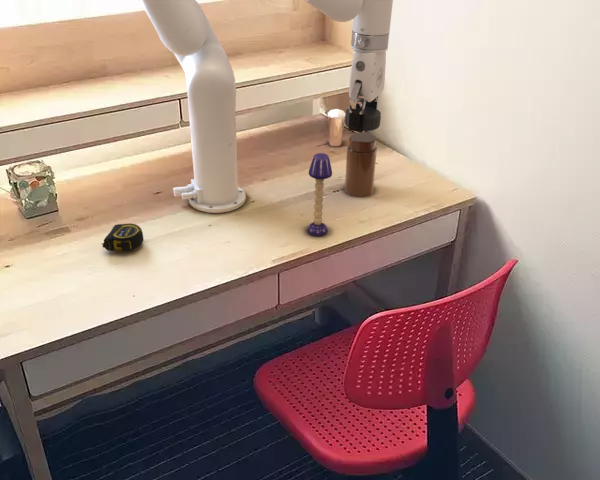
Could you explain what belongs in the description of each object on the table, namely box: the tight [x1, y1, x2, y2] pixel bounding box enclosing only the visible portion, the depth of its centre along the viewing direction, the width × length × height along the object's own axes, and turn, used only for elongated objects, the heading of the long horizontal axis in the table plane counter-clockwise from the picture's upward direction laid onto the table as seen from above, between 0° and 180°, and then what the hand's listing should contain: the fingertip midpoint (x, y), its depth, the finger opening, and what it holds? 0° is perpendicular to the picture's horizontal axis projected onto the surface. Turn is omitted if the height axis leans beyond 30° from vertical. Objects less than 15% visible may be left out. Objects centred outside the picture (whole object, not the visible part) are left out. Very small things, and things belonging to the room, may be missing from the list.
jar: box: [344, 131, 378, 198], centre depth 153 cm, size 7×7×13 cm
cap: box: [344, 105, 382, 132], centre depth 147 cm, size 8×8×3 cm
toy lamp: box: [306, 152, 333, 237], centre depth 136 cm, size 5×5×17 cm
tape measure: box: [101, 223, 144, 253], centre depth 134 cm, size 7×7×4 cm
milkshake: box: [327, 108, 346, 147], centre depth 175 cm, size 4×5×10 cm
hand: (362, 124), depth 147 cm, fingers closed on cap, 7 cm apart
